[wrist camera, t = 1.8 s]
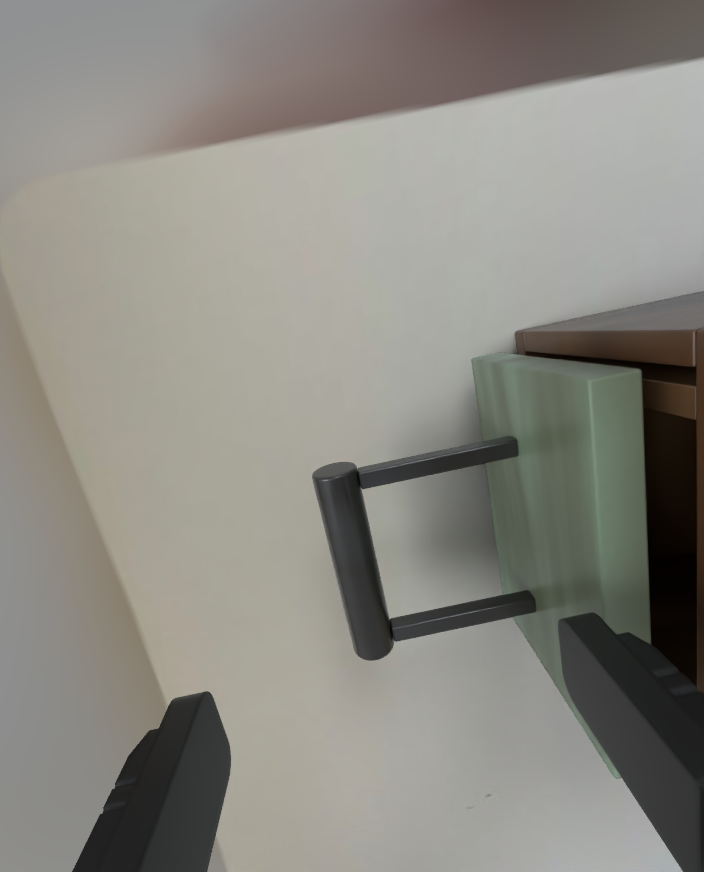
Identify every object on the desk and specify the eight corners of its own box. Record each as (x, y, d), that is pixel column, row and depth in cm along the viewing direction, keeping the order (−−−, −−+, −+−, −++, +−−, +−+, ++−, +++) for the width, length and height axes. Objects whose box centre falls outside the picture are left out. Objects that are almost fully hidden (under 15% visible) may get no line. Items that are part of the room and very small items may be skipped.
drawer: (360, 634, 19) (378, 830, 12) (303, 394, 16) (278, 445, 9) (792, 543, 19) (1092, 681, 12) (808, 286, 16) (1215, 246, 9)
